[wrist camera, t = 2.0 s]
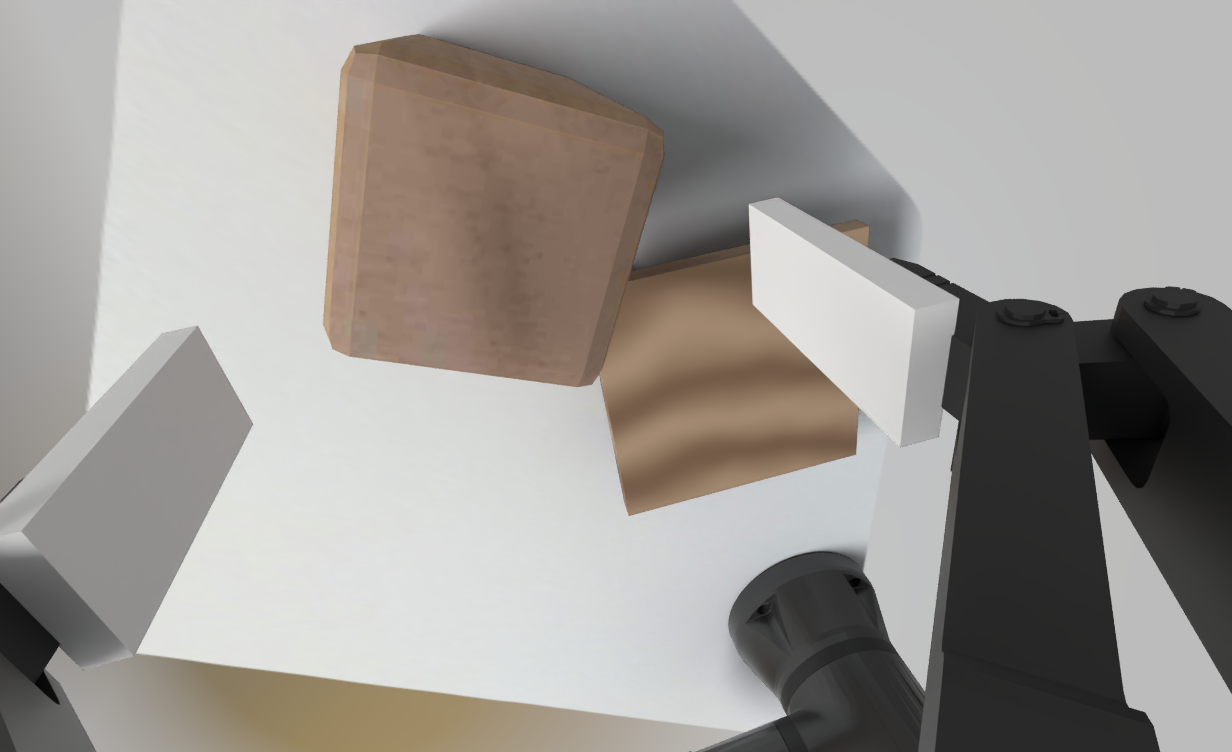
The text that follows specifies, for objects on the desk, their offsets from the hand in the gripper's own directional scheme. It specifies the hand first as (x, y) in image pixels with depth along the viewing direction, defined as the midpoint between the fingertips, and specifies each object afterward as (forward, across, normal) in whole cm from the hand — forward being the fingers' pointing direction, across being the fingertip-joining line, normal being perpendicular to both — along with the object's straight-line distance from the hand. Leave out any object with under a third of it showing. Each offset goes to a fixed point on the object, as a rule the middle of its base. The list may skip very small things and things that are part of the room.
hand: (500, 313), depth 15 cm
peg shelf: (+26, -13, +17) cm, 33 cm away
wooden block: (+26, 0, 0) cm, 26 cm away
